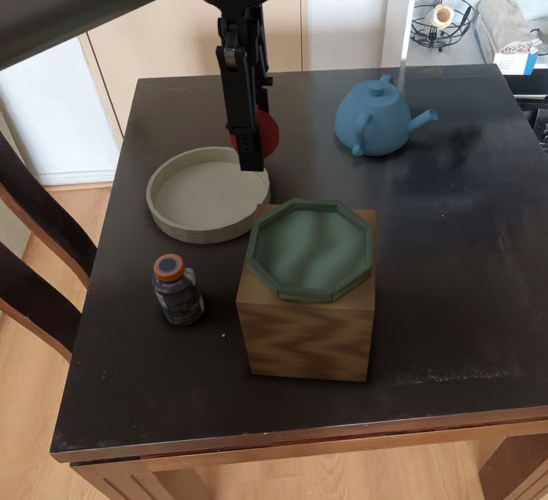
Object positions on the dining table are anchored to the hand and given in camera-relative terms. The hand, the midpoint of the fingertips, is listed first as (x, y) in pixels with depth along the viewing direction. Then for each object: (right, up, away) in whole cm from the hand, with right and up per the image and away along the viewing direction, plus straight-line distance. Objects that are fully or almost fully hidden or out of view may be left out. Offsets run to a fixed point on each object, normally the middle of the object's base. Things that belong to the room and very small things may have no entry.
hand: (256, 151), depth 66 cm
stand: (+7, -24, +14) cm, 29 cm away
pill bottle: (-13, -21, +16) cm, 30 cm away
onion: (0, -1, +1) cm, 2 cm away
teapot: (+19, +10, +43) cm, 48 cm away
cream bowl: (-13, -3, +32) cm, 34 cm away
